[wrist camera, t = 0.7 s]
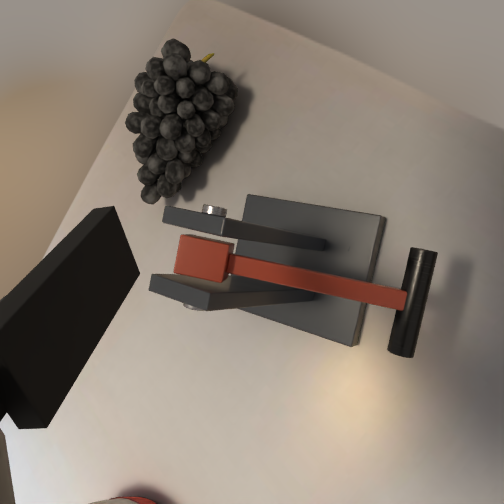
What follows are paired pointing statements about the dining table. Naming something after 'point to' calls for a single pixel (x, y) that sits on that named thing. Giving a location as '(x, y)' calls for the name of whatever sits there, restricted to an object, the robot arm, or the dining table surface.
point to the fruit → (176, 117)
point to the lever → (319, 282)
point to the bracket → (284, 252)
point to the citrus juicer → (126, 501)
